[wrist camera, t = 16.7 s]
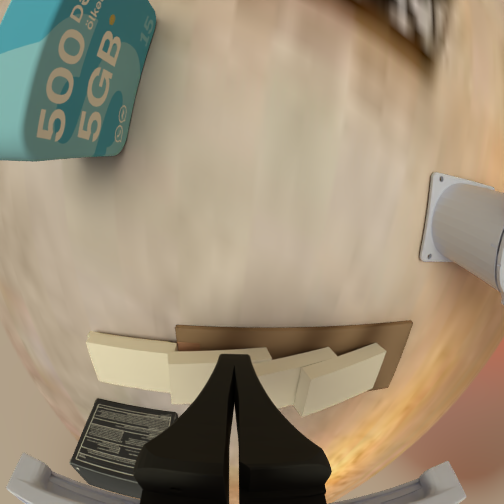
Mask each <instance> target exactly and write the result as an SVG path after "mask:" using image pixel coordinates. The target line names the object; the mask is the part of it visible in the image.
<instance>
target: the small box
mask: <svg viewBox="0 0 504 504" xmlns="http://www.w3.org/2000/svg"><path fill="white" fill-rule="evenodd" d="M177 419H178V416H177V413H175V412H167V411H160V410H153V409H146V408H141V407H135V406H129V405H124V404H119V403H115V402H110V401H106V400H101V399H96V400H95V403H94V407H93V409H92V411H91V413H90V416H89V418H88V420H87V422H86V425H85V427H84V429H83V432H82V434H81V437H80V439H79V442H78V444H77V447H76V449H75V452H74V454H73V457H72V458H71V460H70V464H71V465H72V467H73V468H74V469H75V470H76V471H77V472H78V473H79V474H80V475H81V476H82V477H83V478H84V480H85V481H87V483H88V484H90V485H93V486H96V487H99V488H102V489H105V490H109V491H112V492H116V493H119V494H123V495H127V496H131V497H136V498H140V499H141V495H142V490H143V489H142V488H141V487H140V485H139V484H138V482H137V481H136V480H135V478H134V476H133V470H134V466H135V462H136V459H137V457H138V454H139V452H140V450H141V448H142V447H143V445H144V444H145V443H147V442H148V441H150V440H152V439H153V438H155V437H156V436H158V435H159V434H160V433H162V432H163V431H164V430H165V429H167V428H168V427H169V426H170V425H171V424H173V423H174V422H175V421H176V420H177Z"/></svg>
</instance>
